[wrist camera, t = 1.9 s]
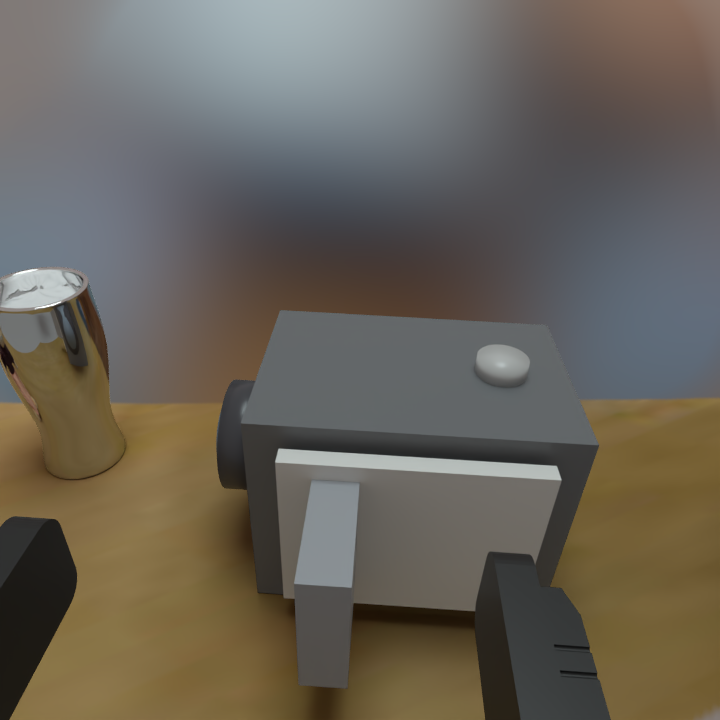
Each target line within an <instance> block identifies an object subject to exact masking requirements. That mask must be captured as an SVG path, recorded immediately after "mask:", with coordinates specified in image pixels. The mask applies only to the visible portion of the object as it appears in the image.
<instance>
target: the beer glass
mask: <svg viewBox="0 0 720 720" xmlns="http://www.w3.org/2000/svg"><path fill="white" fill-rule="evenodd" d="M0 363H1V366H2V368H3V370H4V372H5V374H6V376H7V378H8V379H9V381H10V383H11V385H12V386H13V388H14V390H15V391H16V393H17V394H18V396H19V398H20V399H21V401H22V402H23V404H24V405H25V407H26V408H27V410H28V411H29V413H30V415H31V416H32V418H33V420H34V421H35V423H36V425H37V427H38V430H39V432H40V436H41V440H42V448H43V459H44V464H45V467H46V469H47V470H48V471H49V472H50V473H51V474H52V475H54V476H56V477H59V478H63V479H82V478H87V477H91V476H94V475H97V474H99V473H101V472H103V471H105V470H107V469H109V468H110V467H112V466H113V465H114V464H115V463H116V462H117V461H118V460H119V459H120V458H121V457H122V455H123V453H124V451H125V439H124V436H123V434H122V432H121V430H120V428H119V427H118V425H117V423H116V421H115V419H114V416H113V413H112V409H111V404H110V385H109V359H108V348H107V342H106V337H105V332H104V328H103V324H102V321H101V318H100V314H99V311H98V308H97V305H96V302H95V299H94V297H93V294H92V291H91V288H90V285H89V280H88V278H87V276H86V275H85V274H84V273H82V272H80V271H78V270H75V269H70V268H64V267H41V268H33V269H28V270H22V271H18V272H15V273H11V274H9V275H6V276H3V277H1V278H0Z"/></svg>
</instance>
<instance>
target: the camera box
mask: <svg viewBox="0 0 720 720" xmlns="http://www.w3.org/2000/svg"><path fill="white" fill-rule="evenodd" d="M216 446H217V465H218V474H219V478H220V482H221V484H222V486H223V487H224V488H229V489H244V490H247V492H248V501H249V511H250V521H251V531H252V540H253V550H254V560H255V570H256V579H257V589H258V593H271V594H283V579H282V564H281V548H280V532H279V516H278V500H277V484H276V468H275V461H276V457H277V453H278V449H293V450H309V451H325V452H341V453H357V454H373V455H389V456H405V457H421V458H437V459H453V460H469V461H485V462H501V463H517V464H533V465H549V466H557V468H558V471H559V474H560V477H561V480H562V481H561V484H560V487H559V491H558V494H557V497H556V500H555V503H554V506H553V510H552V513H551V516H550V519H549V522H548V525H547V529H546V532H545V535H544V538H543V541H542V545H541V548H540V551H539V554H538V557H537V560H536V564H535V567H536V571H537V575H538V579H539V584H540V587H550V585H551V582H552V579H553V576H554V573H555V570H556V567H557V564H558V562H559V559H560V556H561V553H562V550H563V547H564V544H565V542H566V539H567V536H568V533H569V530H570V527H571V524H572V521H573V519H574V516H575V513H576V510H577V507H578V504H579V501H580V498H581V496H582V493H583V490H584V487H585V484H586V481H587V478H588V476H589V473H590V470H591V467H592V464H593V461H594V458H595V455H596V453H597V450H598V447H599V444H598V442H597V440H596V437H595V435H594V433H593V430H592V428H591V426H590V423H589V421H588V419H587V417H586V414H585V412H584V410H583V407H582V405H581V403H580V400H579V398H578V396H577V394H576V391H575V389H574V387H573V384H572V382H571V380H570V377H569V375H568V373H567V370H566V368H565V366H564V364H563V361H562V359H561V357H560V354H559V352H558V350H557V347H556V345H555V343H554V341H553V338H552V336H551V334H550V331H549V329H548V327H547V325H533V324H515V323H497V322H480V321H462V320H443V319H425V318H408V317H390V316H372V315H355V314H337V313H320V312H301V311H284V310H280V313H279V316H278V319H277V321H276V324H275V327H274V330H273V333H272V335H271V338H270V342H269V344H268V347H267V350H266V352H265V356H264V358H263V361H262V364H261V367H260V369H259V372H258V375H257V378H256V381H248V380H233V381H232V382H231V384H230V385H229V387H228V389H227V392H226V394H225V398H224V401H223V405H222V409H221V413H220V417H219V422H218V429H217V443H216Z"/></svg>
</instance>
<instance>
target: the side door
mask: <svg viewBox="0 0 720 720" xmlns="http://www.w3.org/2000/svg"><path fill="white" fill-rule="evenodd" d="M275 468H276V484H277V500H278V516H279V532H280V548H281V564H282V579H283V595H284V598H289V599H295V617H296V639H297V660H298V682H299V685H304V686H318V687H332V688H345V689H347V688H348V674H349V659H350V645H351V631H352V616H353V603H362V604H376V605H391V606H405V607H420V608H434V609H449V610H463V611H475V606H476V599H477V595H478V591H479V587H480V583H481V578H482V574H483V570H484V566H485V562H486V558H487V555H488V553H489V552H490V551H491V552H505V553H519V554H530V555H531V556H532V558H533V560H534V563H535V564H536V560H537V557H538V554H539V551H540V548H541V545H542V541H543V538H544V535H545V532H546V529H547V525H548V522H549V519H550V516H551V513H552V510H553V506H554V503H555V500H556V497H557V494H558V491H559V487H560V484H561V481H562V480H561V477H560V474H559V471H558V468H557V466H549V465H533V464H517V463H501V462H485V461H469V460H453V459H437V458H421V457H405V456H389V455H373V454H357V453H341V452H325V451H309V450H293V449H278V453H277V457H276V461H275Z"/></svg>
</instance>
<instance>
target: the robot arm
mask: <svg viewBox="0 0 720 720" xmlns="http://www.w3.org/2000/svg"><path fill="white" fill-rule="evenodd" d="M76 584H77V571H76V567H75V564H74V562H73V559H72V556H71V553H70V551H69V548H68V545H67V542H66V539H65V537H64V534H63V531H62V528H61V526H60V524H59V522H58V521H57V520H55V519H45V518H31V517H17V516H15V517H11V518H9V519H8V520H6V521H5V522H4V523H3V524H2V526H1V527H0V720H9V719H10V717H11V715H12V714H13V712H14V710H15V708H16V706H17V704H18V702H19V700H20V698H21V697H22V695H23V693H24V691H25V689H26V687H27V685H28V683H29V681H30V680H31V678H32V676H33V674H34V672H35V670H36V668H37V666H38V665H39V663H40V661H41V659H42V657H43V655H44V653H45V651H46V649H47V648H48V646H49V644H50V642H51V640H52V638H53V636H54V634H55V632H56V631H57V629H58V627H59V625H60V623H61V621H62V619H63V617H64V615H65V614H66V612H67V610H68V608H69V606H70V604H71V602H72V599H73V597H74V593H75V590H76ZM475 635H476V644H477V652H478V661H479V669H480V678H481V686H482V695H483V703H484V712H485V720H611V719H610V716H609V712H608V709H607V705H606V702H605V698H604V695H603V691H602V688H601V684H600V681H599V680H598V679H597V670H596V667H595V663H594V660H593V656H592V653H590V650H589V648H590V646H589V643H588V639H587V636H586V632H585V629H584V625H583V622H582V618H581V615H580V614H579V613H578V611H577V610H576V608H575V607H574V605H573V604H572V603H571V601H570V600H569V598H568V597H567V596H566V594H565V593H564V591H563V590H562V588H553V587H540V584H539V579H538V575H537V571H536V567H535V563H534V560H533V558H532V556H531V555H530V554H519V553H505V552H491V551H490V552H489V553H488V555H487V558H486V562H485V566H484V570H483V574H482V578H481V583H480V587H479V591H478V595H477V599H476V606H475Z"/></svg>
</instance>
